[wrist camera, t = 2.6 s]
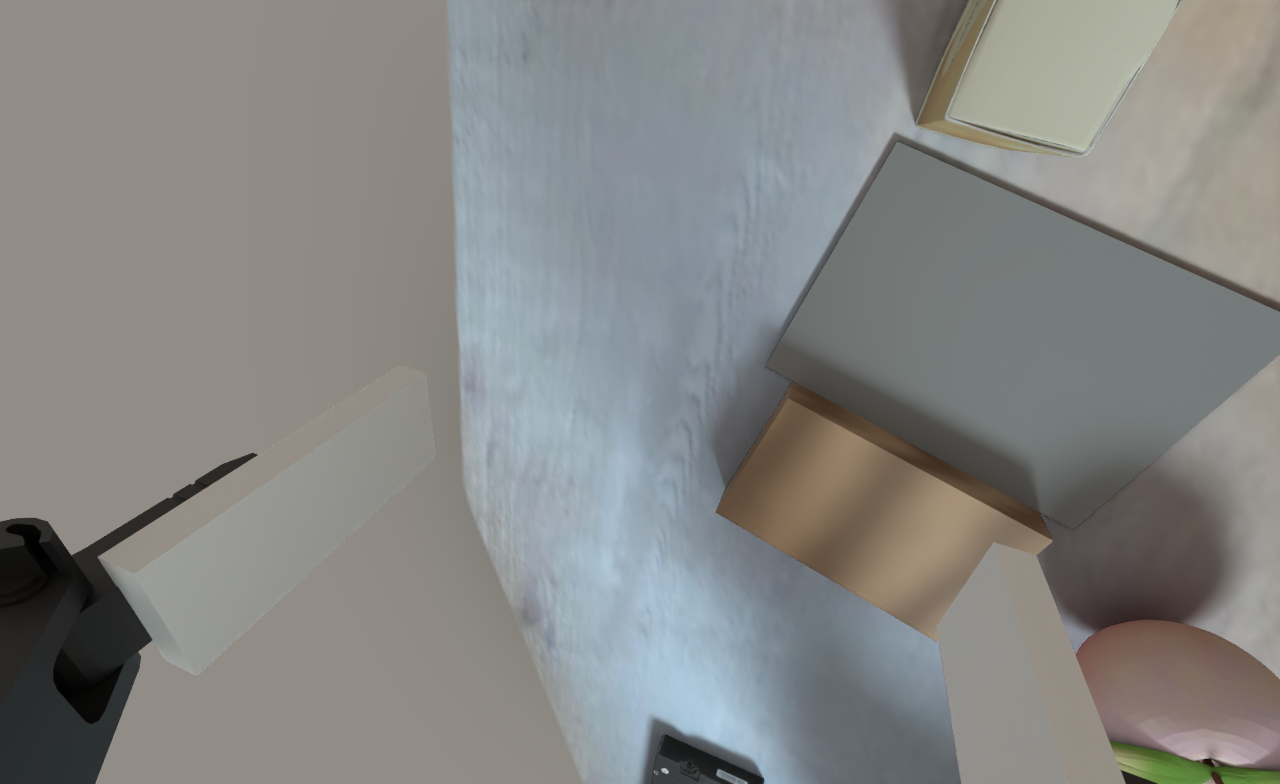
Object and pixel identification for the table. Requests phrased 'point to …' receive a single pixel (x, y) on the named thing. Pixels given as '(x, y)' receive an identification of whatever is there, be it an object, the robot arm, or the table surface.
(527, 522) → the table surface
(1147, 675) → the decorative fruit
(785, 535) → the walnut ledge
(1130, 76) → the skincare box
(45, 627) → the robot arm
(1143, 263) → the rubber mat
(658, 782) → the disk drive
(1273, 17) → the table surface
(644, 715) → the table surface
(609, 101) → the table surface
